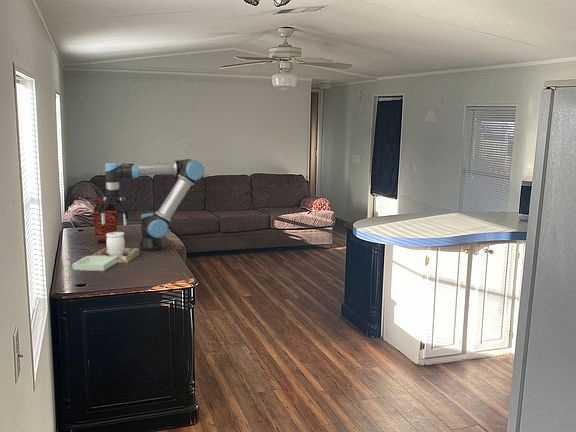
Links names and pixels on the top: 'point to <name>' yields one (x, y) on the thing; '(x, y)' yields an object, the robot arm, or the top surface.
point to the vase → (109, 221)
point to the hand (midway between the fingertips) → (114, 224)
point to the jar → (115, 243)
